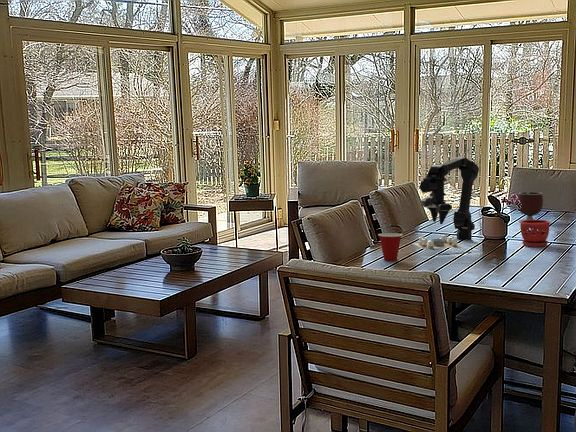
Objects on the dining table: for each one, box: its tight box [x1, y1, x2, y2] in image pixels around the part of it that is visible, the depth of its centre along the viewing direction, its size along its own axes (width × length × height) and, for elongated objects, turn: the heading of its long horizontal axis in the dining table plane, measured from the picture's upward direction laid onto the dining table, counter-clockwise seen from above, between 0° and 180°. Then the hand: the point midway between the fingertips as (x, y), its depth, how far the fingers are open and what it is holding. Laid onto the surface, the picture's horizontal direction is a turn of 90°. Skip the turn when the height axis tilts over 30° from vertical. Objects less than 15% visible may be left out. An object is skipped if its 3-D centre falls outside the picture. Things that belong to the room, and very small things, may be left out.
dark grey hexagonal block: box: [431, 238, 445, 246], centre depth 313 cm, size 7×6×2 cm
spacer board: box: [412, 240, 463, 250], centre depth 313 cm, size 20×15×1 cm
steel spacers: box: [418, 234, 458, 250], centre depth 312 cm, size 17×14×4 cm
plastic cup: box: [377, 232, 403, 262], centre depth 289 cm, size 11×11×12 cm
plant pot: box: [519, 219, 550, 248], centre depth 310 cm, size 13×13×12 cm
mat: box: [434, 251, 472, 257], centre depth 301 cm, size 18×10×1 cm, turn 101°
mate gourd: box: [517, 189, 544, 223], centre depth 375 cm, size 16×14×20 cm
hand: (437, 222), depth 311 cm, fingers open, 8 cm apart
